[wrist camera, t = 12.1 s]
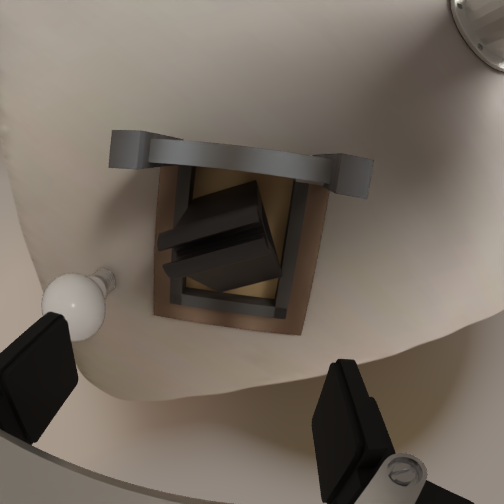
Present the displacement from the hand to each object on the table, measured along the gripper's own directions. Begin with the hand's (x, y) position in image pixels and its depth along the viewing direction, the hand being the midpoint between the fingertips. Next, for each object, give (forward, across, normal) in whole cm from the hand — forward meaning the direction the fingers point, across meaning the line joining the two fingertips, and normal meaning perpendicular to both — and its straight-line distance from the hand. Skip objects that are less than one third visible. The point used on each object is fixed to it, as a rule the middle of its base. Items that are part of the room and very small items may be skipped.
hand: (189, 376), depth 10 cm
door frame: (+22, 0, +1) cm, 22 cm away
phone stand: (+20, 0, 0) cm, 20 cm away
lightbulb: (+22, +14, +7) cm, 27 cm away
